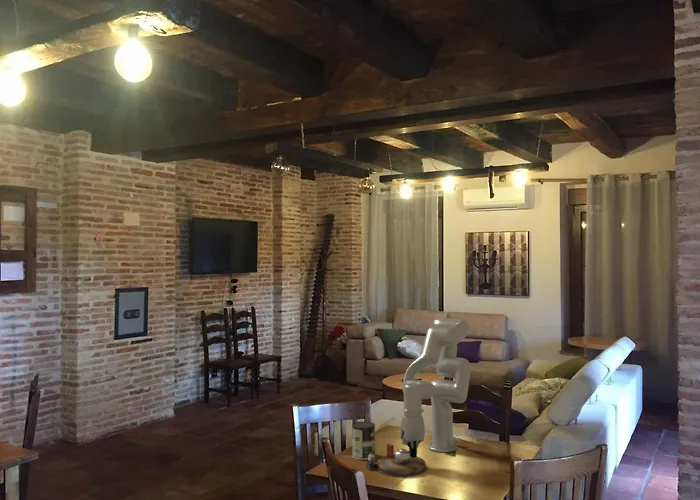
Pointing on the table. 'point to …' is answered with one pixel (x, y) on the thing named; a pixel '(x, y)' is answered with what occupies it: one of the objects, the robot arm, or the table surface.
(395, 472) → the turntable
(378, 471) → the turntable base
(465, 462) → the table surface
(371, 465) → the small bust figurine
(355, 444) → the coffee can
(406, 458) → the cover
